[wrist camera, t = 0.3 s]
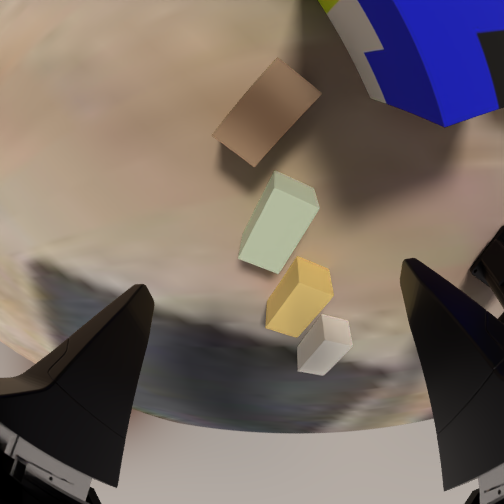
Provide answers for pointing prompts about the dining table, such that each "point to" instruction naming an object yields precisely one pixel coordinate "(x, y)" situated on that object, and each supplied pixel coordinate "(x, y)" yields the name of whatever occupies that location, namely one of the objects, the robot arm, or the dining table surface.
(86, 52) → the dining table surface
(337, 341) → the grey brick
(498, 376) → the robot arm
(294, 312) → the mustard brick
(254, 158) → the walnut brick
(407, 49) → the puzzle toy
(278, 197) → the sage brick
